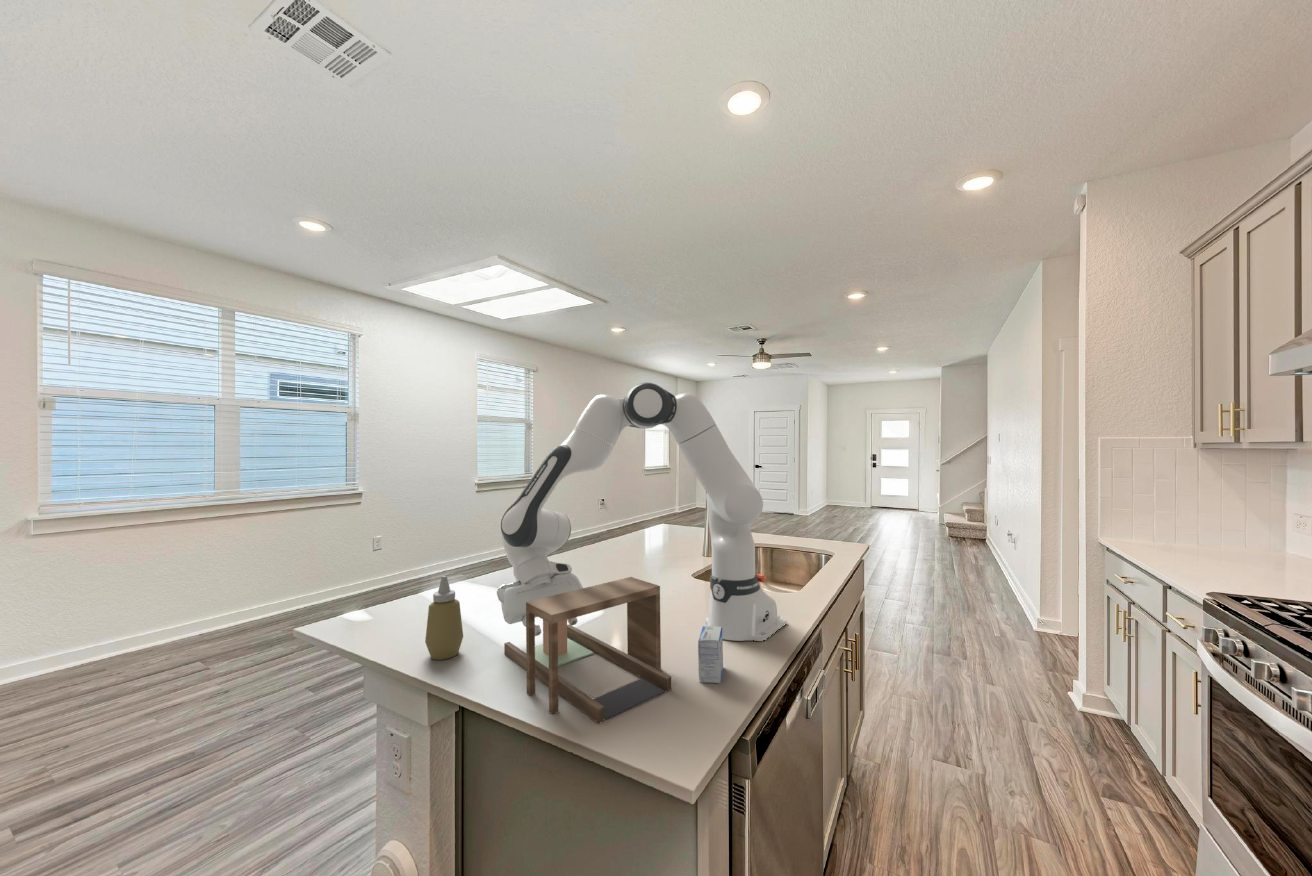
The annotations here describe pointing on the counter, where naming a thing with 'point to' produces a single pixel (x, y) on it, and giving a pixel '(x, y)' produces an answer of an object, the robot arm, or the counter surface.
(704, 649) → the medicine box
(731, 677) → the counter surface
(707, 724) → the counter surface
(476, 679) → the counter surface
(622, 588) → the walnut tunnel
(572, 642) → the pad
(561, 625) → the terracotta block
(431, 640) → the squeeze bottle
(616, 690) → the pad
